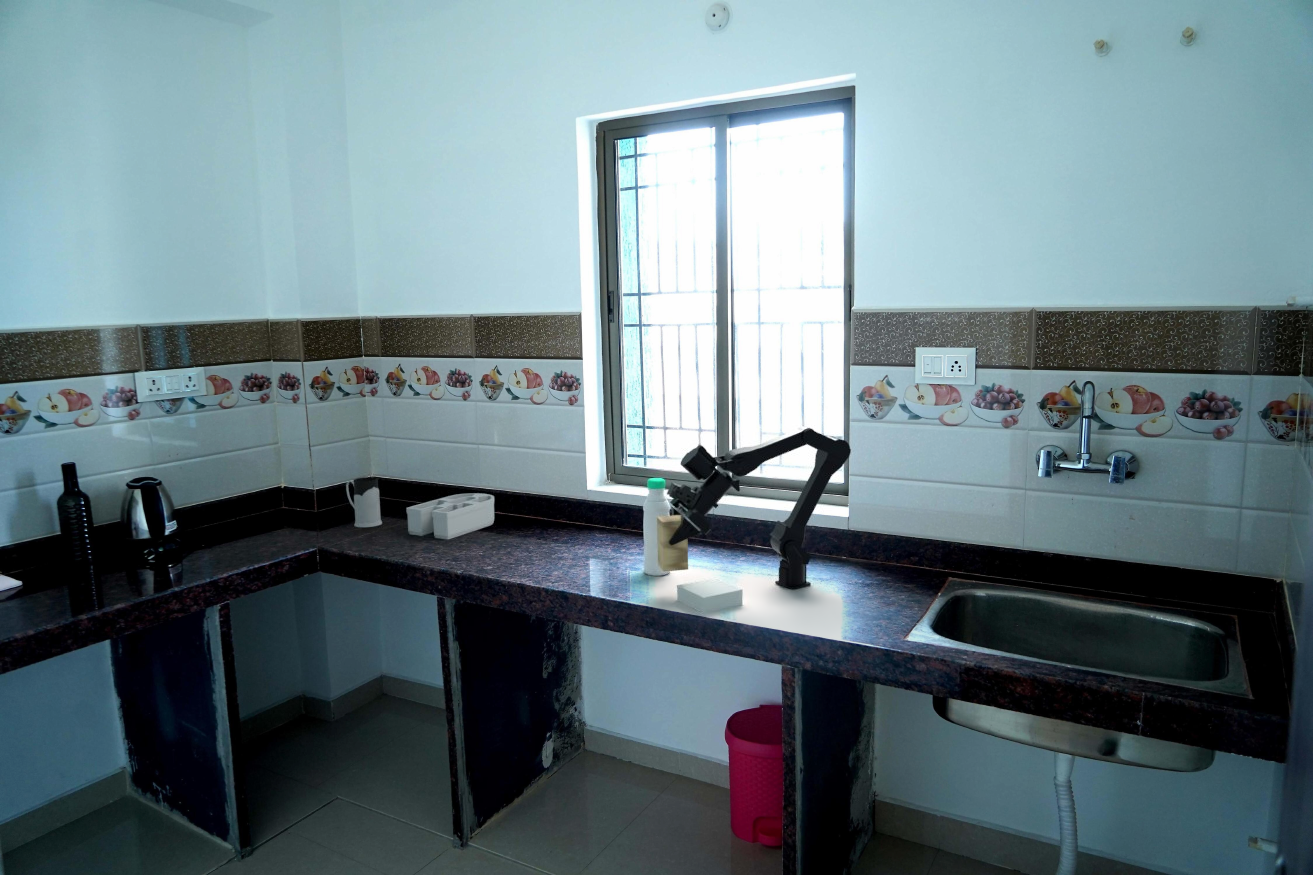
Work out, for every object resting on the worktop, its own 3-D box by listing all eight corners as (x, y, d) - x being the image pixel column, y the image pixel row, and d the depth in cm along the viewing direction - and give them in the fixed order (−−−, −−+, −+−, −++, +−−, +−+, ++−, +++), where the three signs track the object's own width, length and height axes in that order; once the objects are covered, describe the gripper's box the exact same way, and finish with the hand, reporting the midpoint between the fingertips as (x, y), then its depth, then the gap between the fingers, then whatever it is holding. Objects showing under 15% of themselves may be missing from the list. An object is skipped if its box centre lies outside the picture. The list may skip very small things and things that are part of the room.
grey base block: (715, 593, 215) (715, 577, 214) (742, 605, 205) (742, 589, 205) (677, 601, 209) (677, 585, 208) (703, 614, 200) (703, 597, 199)
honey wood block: (681, 562, 216) (680, 514, 214) (688, 569, 210) (687, 520, 208) (658, 564, 214) (656, 516, 213) (663, 571, 209) (662, 522, 207)
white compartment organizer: (407, 534, 275) (405, 507, 274) (466, 516, 300) (465, 491, 298) (448, 540, 267) (446, 513, 266) (505, 521, 292) (504, 495, 291)
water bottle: (672, 575, 228) (672, 480, 225) (646, 577, 227) (644, 482, 224) (668, 567, 235) (667, 476, 232) (642, 569, 234) (640, 477, 231)
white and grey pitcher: (366, 528, 283) (363, 482, 281) (337, 523, 291) (335, 478, 289) (387, 522, 290) (385, 478, 288) (359, 517, 298) (357, 474, 296)
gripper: (677, 464, 219) (635, 511, 218) (697, 477, 201) (651, 528, 200) (708, 493, 222) (666, 539, 221) (730, 508, 203) (685, 559, 203)
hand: (666, 540), depth 211 cm, fingers closed on honey wood block, 6 cm apart
